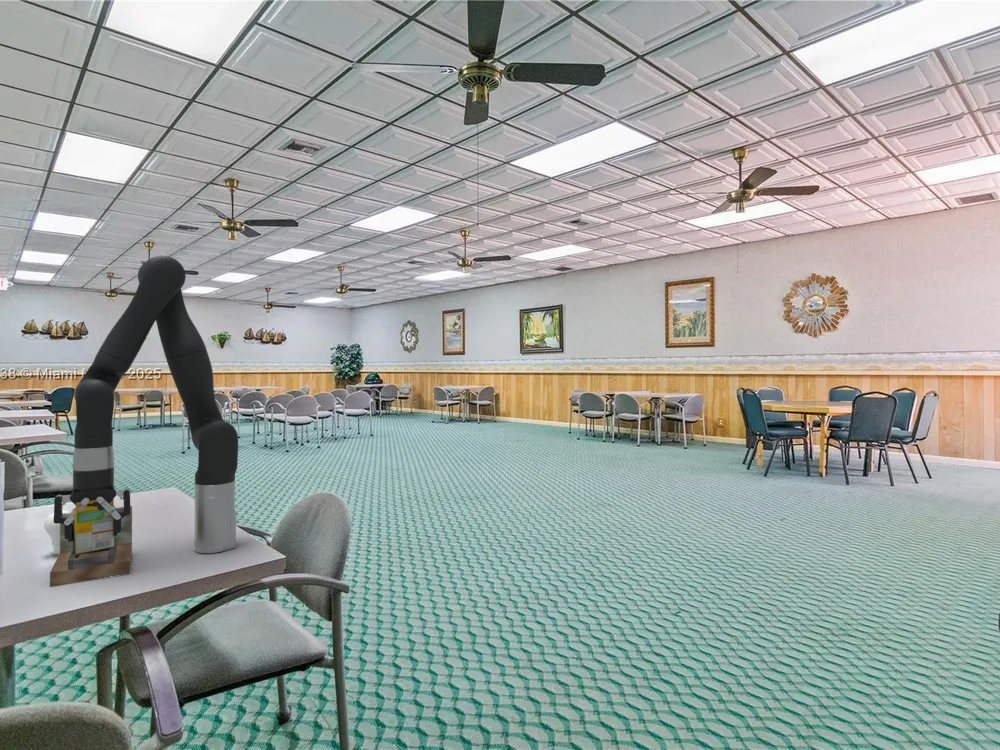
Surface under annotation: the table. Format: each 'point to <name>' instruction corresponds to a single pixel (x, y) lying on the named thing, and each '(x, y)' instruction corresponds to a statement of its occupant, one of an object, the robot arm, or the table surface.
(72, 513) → the robot arm
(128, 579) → the table surface
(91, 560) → the display stand
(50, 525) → the lightbulb
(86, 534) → the crayon box
